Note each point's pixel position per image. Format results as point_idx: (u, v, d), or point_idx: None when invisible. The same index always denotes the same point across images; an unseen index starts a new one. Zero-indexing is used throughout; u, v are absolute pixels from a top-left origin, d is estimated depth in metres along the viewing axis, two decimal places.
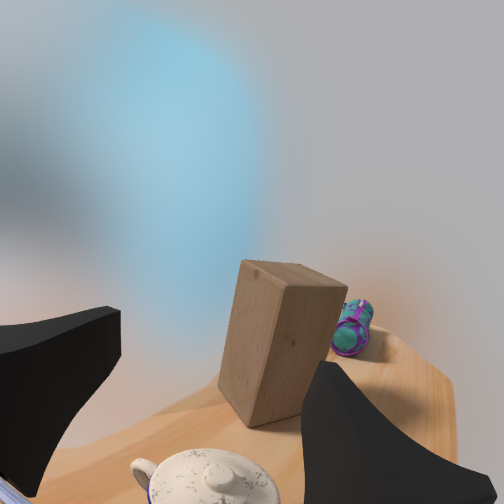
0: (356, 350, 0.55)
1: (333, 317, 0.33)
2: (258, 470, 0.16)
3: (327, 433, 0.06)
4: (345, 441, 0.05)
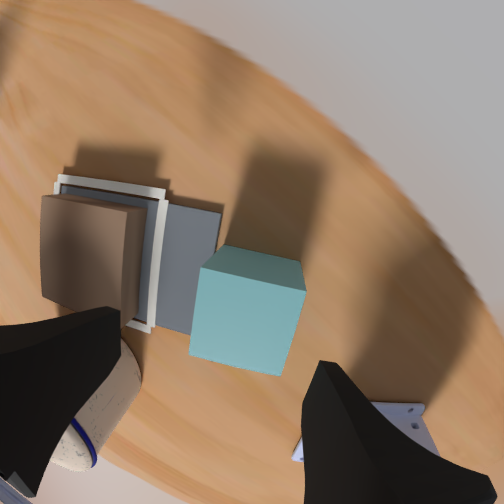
0: None
1: None
2: None
3: (328, 433, 0.06)
4: (345, 441, 0.05)
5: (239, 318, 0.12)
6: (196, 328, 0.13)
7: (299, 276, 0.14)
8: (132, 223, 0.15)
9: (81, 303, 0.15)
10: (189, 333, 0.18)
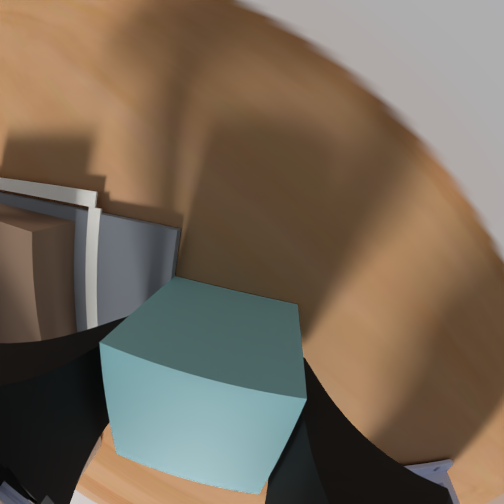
0: None
1: None
2: None
3: None
4: (298, 437, 0.05)
5: (181, 428, 0.06)
6: (117, 428, 0.06)
7: (294, 348, 0.07)
8: (46, 247, 0.08)
9: None
10: None
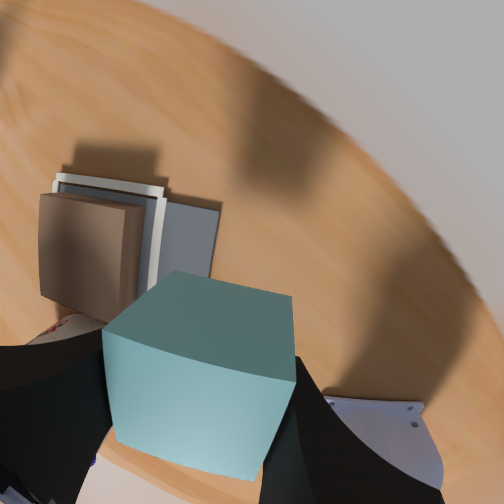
0: None
1: None
2: None
3: (280, 428, 0.06)
4: (290, 436, 0.05)
5: (178, 413, 0.06)
6: (117, 414, 0.06)
7: (286, 337, 0.07)
8: (130, 221, 0.15)
9: (79, 301, 0.15)
10: None
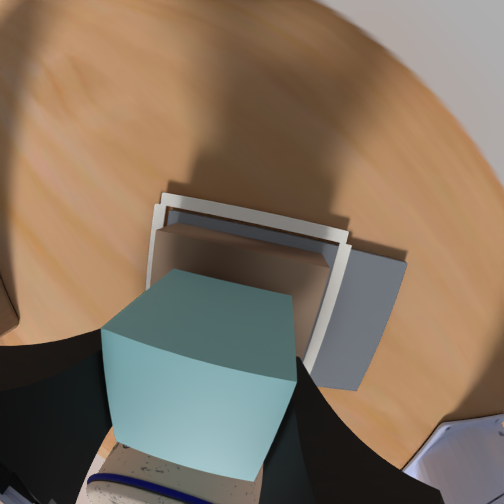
0: None
1: None
2: (107, 499, 0.07)
3: (280, 427, 0.06)
4: (290, 436, 0.05)
5: (178, 412, 0.06)
6: (116, 413, 0.06)
7: (287, 336, 0.07)
8: None
9: None
10: (345, 388, 0.15)
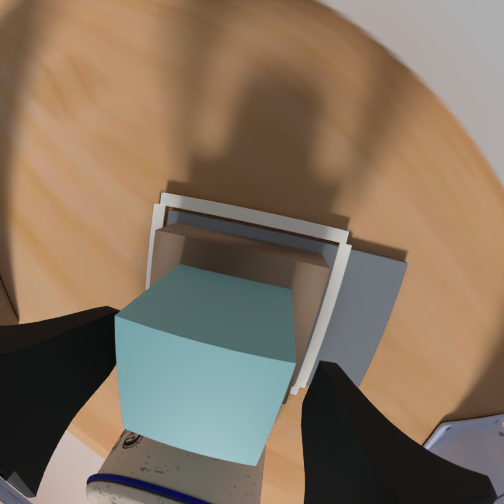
0: None
1: None
2: (106, 500, 0.07)
3: (327, 433, 0.06)
4: (345, 441, 0.05)
5: (185, 396, 0.07)
6: (125, 400, 0.07)
7: (287, 324, 0.08)
8: None
9: None
10: None
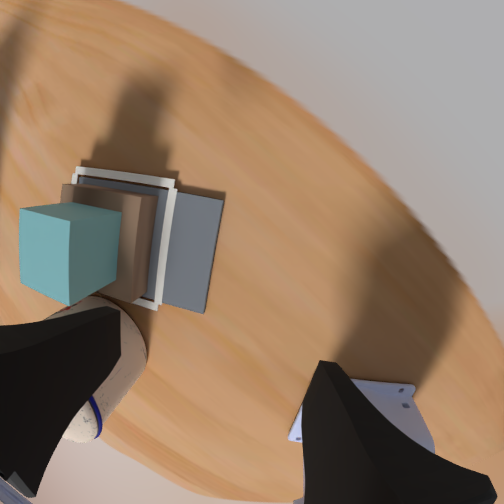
0: None
1: None
2: None
3: (327, 433, 0.06)
4: (345, 441, 0.05)
5: (38, 248, 0.12)
6: (21, 258, 0.13)
7: (90, 216, 0.13)
8: (145, 207, 0.17)
9: None
10: (193, 309, 0.20)
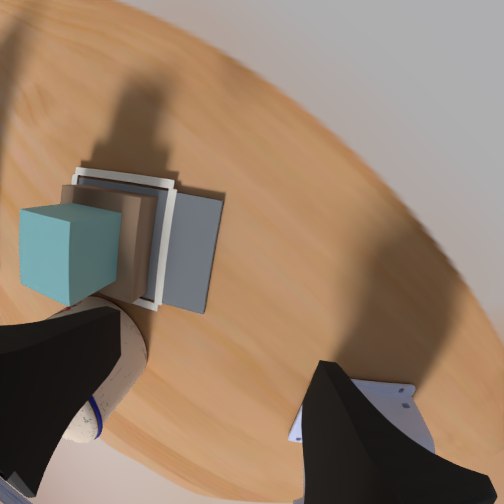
0: None
1: None
2: None
3: (328, 433, 0.06)
4: (345, 441, 0.05)
5: (39, 248, 0.12)
6: (21, 259, 0.13)
7: (90, 217, 0.14)
8: (145, 208, 0.17)
9: None
10: (193, 310, 0.20)
